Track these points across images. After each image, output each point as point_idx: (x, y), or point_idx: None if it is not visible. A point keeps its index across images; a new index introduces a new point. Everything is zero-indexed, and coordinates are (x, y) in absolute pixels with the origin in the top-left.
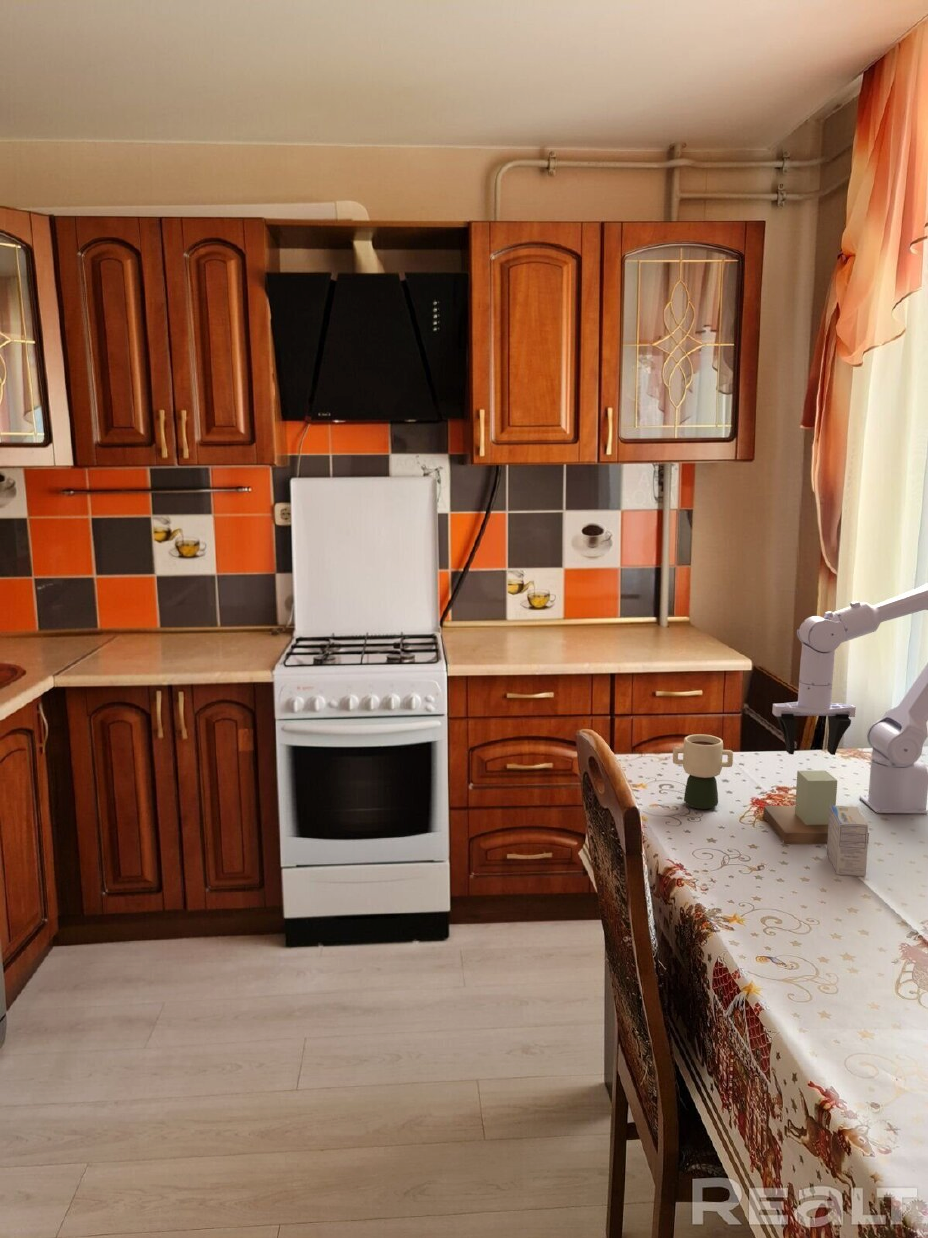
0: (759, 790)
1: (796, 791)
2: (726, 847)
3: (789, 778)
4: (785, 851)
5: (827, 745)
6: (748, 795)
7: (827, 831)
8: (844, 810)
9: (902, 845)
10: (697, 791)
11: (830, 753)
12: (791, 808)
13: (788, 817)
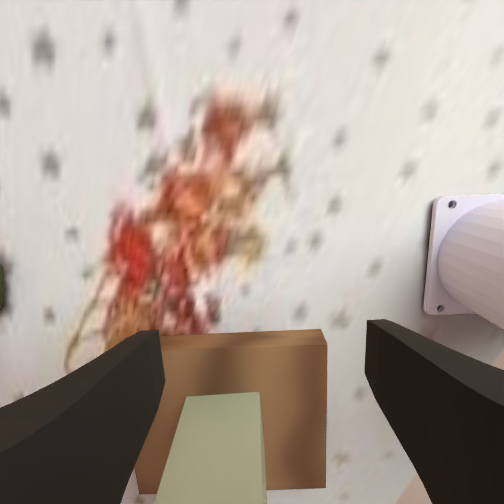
0: (147, 144)
1: (170, 452)
2: None
3: (276, 8)
4: (143, 495)
5: (381, 330)
6: (107, 191)
7: None
8: None
9: (389, 463)
10: None
11: (365, 361)
12: (185, 367)
13: (164, 420)
